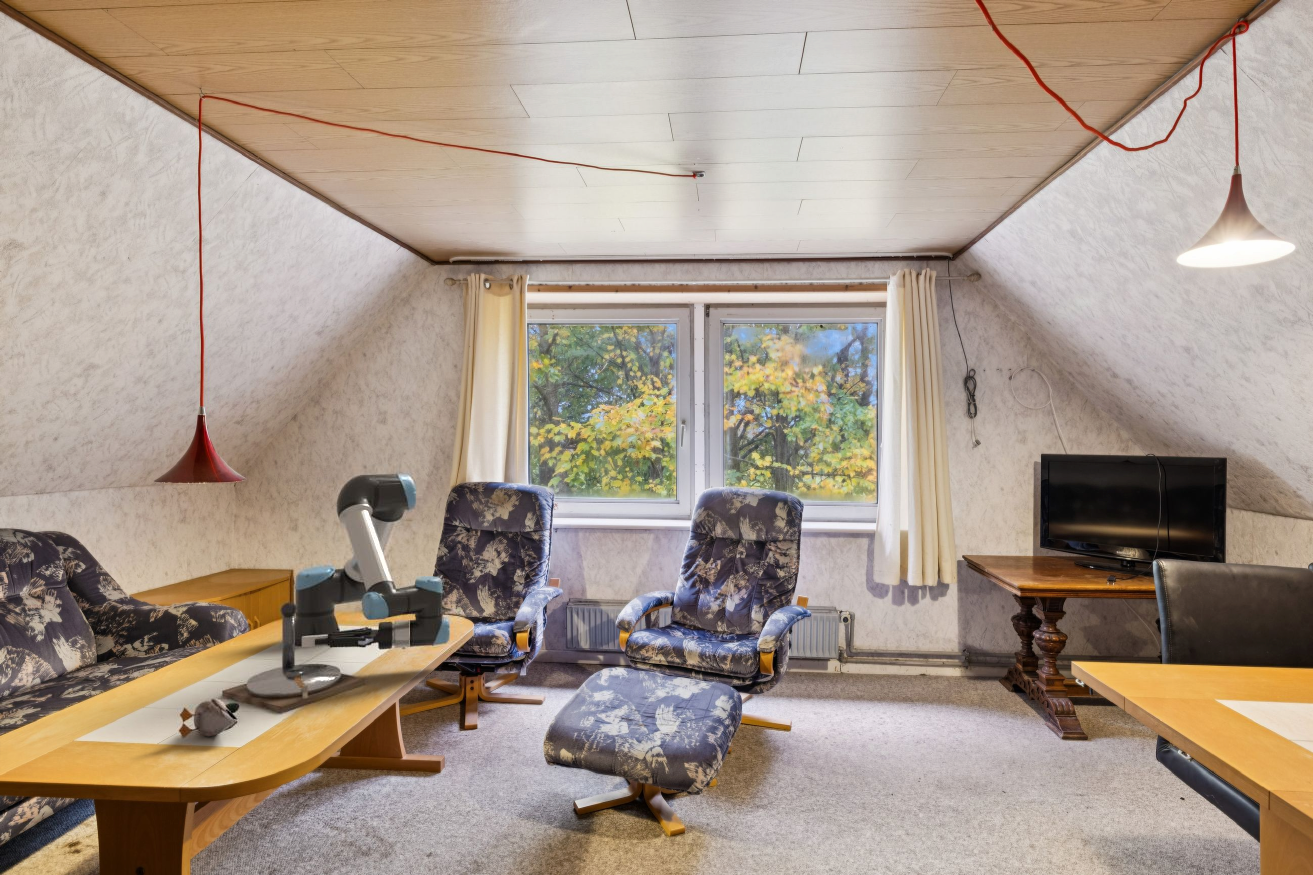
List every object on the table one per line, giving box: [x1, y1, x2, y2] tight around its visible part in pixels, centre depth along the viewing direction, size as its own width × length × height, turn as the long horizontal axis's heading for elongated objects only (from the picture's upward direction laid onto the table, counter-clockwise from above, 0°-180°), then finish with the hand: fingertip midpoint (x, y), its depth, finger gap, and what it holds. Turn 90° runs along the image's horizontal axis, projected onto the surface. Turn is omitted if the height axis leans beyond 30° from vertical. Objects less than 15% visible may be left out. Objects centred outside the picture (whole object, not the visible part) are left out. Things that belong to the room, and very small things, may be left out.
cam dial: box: [246, 601, 342, 698], centre depth 195 cm, size 23×22×19 cm
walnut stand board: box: [221, 673, 365, 714], centre depth 194 cm, size 24×24×4 cm
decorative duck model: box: [178, 698, 241, 739], centre depth 167 cm, size 15×8×15 cm
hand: (302, 641), depth 204 cm, fingers closed
